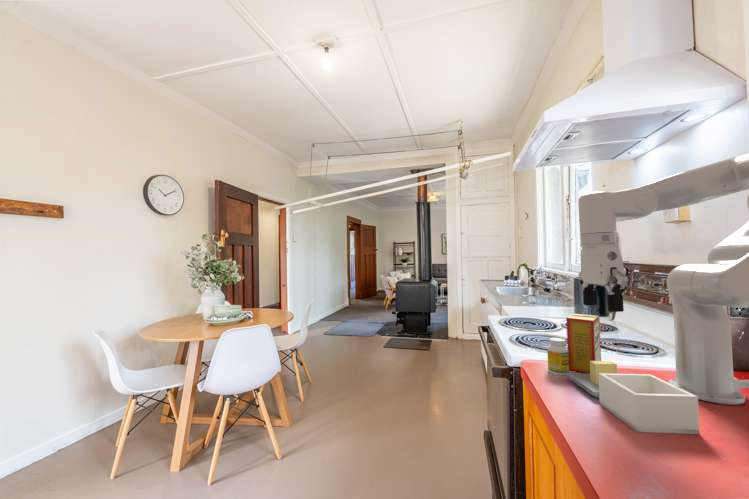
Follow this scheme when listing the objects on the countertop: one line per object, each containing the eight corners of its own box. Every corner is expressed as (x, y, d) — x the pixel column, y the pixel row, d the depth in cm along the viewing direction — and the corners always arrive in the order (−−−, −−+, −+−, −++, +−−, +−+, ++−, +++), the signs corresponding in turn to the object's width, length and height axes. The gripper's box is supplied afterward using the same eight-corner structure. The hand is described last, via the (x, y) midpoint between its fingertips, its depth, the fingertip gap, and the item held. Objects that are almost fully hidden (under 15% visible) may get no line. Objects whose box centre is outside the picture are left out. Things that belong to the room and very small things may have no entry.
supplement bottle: (553, 367, 92) (552, 335, 92) (572, 373, 87) (571, 339, 88) (544, 371, 89) (543, 338, 89) (563, 377, 84) (562, 342, 85)
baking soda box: (595, 376, 84) (593, 319, 85) (568, 370, 89) (566, 316, 90) (601, 367, 91) (599, 314, 92) (576, 362, 96) (574, 312, 96)
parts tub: (651, 405, 68) (650, 374, 68) (699, 434, 57) (697, 396, 57) (599, 404, 69) (598, 373, 69) (636, 431, 58) (635, 394, 58)
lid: (612, 381, 81) (611, 355, 81) (647, 402, 69) (646, 371, 70) (567, 380, 82) (566, 354, 82) (594, 400, 70) (593, 370, 71)
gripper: (640, 238, 68) (645, 314, 67) (592, 242, 85) (596, 302, 84) (605, 239, 69) (609, 314, 68) (564, 243, 86) (568, 303, 85)
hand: (602, 308), depth 76 cm, fingers open, 9 cm apart
